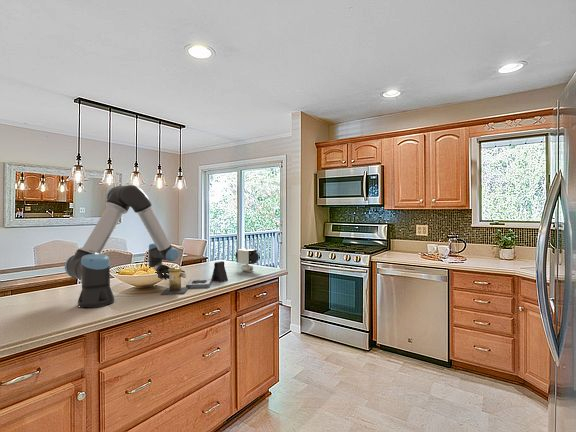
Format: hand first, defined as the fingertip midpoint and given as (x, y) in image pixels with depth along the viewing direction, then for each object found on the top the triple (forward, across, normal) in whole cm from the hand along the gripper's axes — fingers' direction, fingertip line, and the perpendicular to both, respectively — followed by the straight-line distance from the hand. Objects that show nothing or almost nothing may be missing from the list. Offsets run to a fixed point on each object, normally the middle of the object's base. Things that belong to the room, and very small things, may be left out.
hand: (179, 276), depth 171 cm
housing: (-10, -17, -9) cm, 21 cm away
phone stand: (-12, -32, -9) cm, 36 cm away
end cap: (-5, 0, -8) cm, 10 cm away
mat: (-5, 0, -9) cm, 10 cm away
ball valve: (-23, -63, -9) cm, 67 cm away
